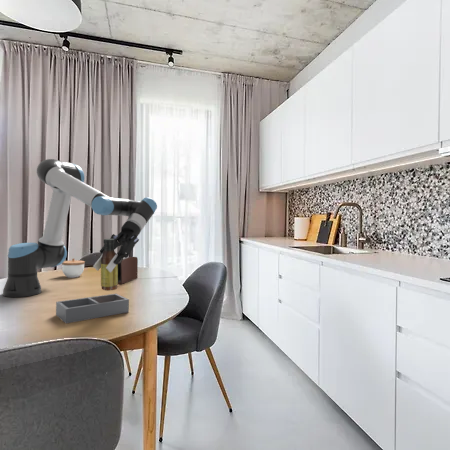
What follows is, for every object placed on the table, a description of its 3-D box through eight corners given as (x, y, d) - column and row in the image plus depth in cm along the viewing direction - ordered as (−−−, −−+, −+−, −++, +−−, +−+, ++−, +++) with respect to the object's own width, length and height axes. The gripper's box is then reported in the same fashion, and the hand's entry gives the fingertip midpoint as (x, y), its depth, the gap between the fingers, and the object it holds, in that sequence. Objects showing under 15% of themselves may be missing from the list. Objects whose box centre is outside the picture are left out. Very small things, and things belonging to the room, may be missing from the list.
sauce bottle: (112, 286, 130) (113, 238, 130) (120, 289, 126) (121, 239, 126) (97, 289, 125) (98, 238, 125) (105, 291, 121) (106, 239, 121)
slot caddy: (55, 315, 119) (56, 301, 119) (115, 305, 134) (116, 293, 134) (65, 323, 110) (66, 309, 110) (128, 312, 125) (128, 299, 125)
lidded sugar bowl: (63, 275, 199) (63, 257, 198) (85, 274, 202) (85, 257, 202) (59, 278, 187) (59, 260, 186) (82, 278, 190) (83, 259, 190)
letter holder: (137, 278, 196) (138, 255, 196) (121, 284, 176) (122, 259, 176) (122, 277, 198) (123, 254, 197) (105, 283, 178) (105, 258, 178)
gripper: (155, 233, 134) (125, 277, 120) (121, 231, 143) (90, 272, 129) (146, 220, 130) (114, 265, 115) (112, 219, 138) (79, 261, 124)
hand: (102, 269), depth 122 cm, fingers closed on sauce bottle, 6 cm apart
